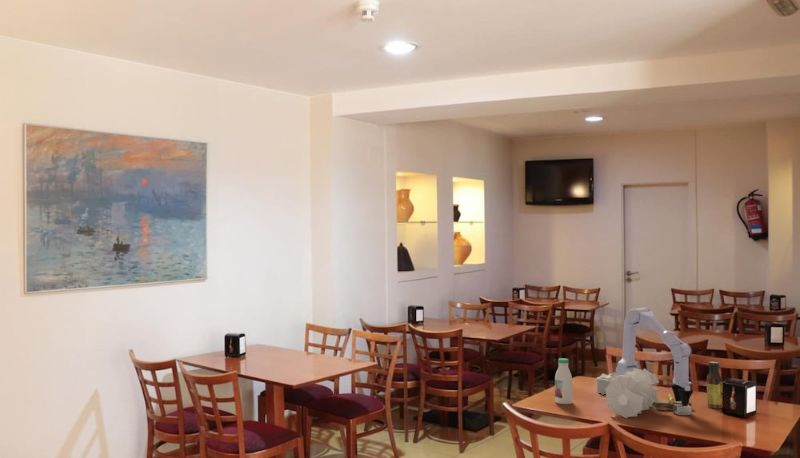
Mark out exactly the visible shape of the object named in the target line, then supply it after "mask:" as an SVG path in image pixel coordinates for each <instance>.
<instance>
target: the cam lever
mask: <svg viewBox="0 0 800 458" xmlns="http://www.w3.org/2000/svg"><path fill="white" fill-rule="evenodd" d="M667 396H668V398H667V400H668V401H669V404H670V405H674V400H675V398H674V397H673V394H669V393H668V395H667Z"/></svg>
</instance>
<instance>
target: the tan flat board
mask: <svg viewBox="0 0 800 458" xmlns="http://www.w3.org/2000/svg"><path fill="white" fill-rule="evenodd" d="M674 404H682V403H681V401H675V399H674ZM688 405H689V406H691V411H693V407H692V402H690V401H689V403H688ZM652 406H653V407H652V408H653V409H654V410H655V411H673V405H670V404H669V401H668V399H659V398H658V400H656V401H655V402H654V403H653V404H652Z"/></svg>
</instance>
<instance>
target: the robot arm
mask: <svg viewBox="0 0 800 458" xmlns="http://www.w3.org/2000/svg"><path fill="white" fill-rule="evenodd" d="M641 324H646V325H648V326H650V327H651V329H653V330H654V331H655V332H656V333H657V334H658V335H660V340H661V341H662V342H663V344H665V346H667V347H668V348H669V350H670V354H671V355H672V357H673V359H672V360H673V376H674V377H673V378H672V383H671V384H670V387H671V390H672V392H673V396H674V397H673V398H674V400H675V401H681V403H682V406H688V403H689V402H690V400H691V399H690V398H691V396H692V394H693V393H694V390H692V389H691V385H692V382H691V381H689V379H690V376H689V373H690V371H689V370H690V366H689V362H690V360H689V357H690V356H691V355H692V348H691V346H690V344H689V343H687V342H683V341H682V340H681V339H680V338H679V337H678V336H677V335H676V333H675V332H674V331H671V330H667V329H666V327H664V326H663V324H662V323H661V322H660V321H659V320H658V318H656V316H655V315H654V312H653V311H651V309H650V308H649V307H638V308H630V309H629V310H627V311H626V316H625V319H624V321H623V336H622V352H621V353H622V354H621V359H620V360H619V361H618V362H617V366H616V368H615V375H616V376H619V375H620V376H621V375H625V372H627V371H628V372H631V371H633V369H639V367H638V366H639V365H638V362H637V361H636V360H635V357H636V338H637V327H638V326H640V325H641Z"/></svg>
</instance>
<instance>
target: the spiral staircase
mask: <svg viewBox="0 0 800 458" xmlns="http://www.w3.org/2000/svg"><path fill="white" fill-rule="evenodd" d="M658 383H660V381H659V379H658V376H657V375H656V373H651V372H650V371H649V370H648V369H646V368H643V369H639V368H638V369H633V371H631V372H628V371H627V372H625V375H621V376H620V375H619V376H616V379H612V380H610V384H609V385H608V386H607V388H606V389H605V391H607V392H606V395H605V402H606V406H607V408H609V409H611V410H612V412H613V413H614V414H615V416H618V415H619V416H621V417H623V418H625V419H628V418H630V417H631V418H632V417H638V414H639V415H640V414H641V415H642V411H645V410H649V409H650V408H653V406H652V404H653V403H654V402H655V401H656V400H658V399H659V398H658V397H657V395H658V392H659V388H657V387H655V386H652V385H655V384H658Z"/></svg>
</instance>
